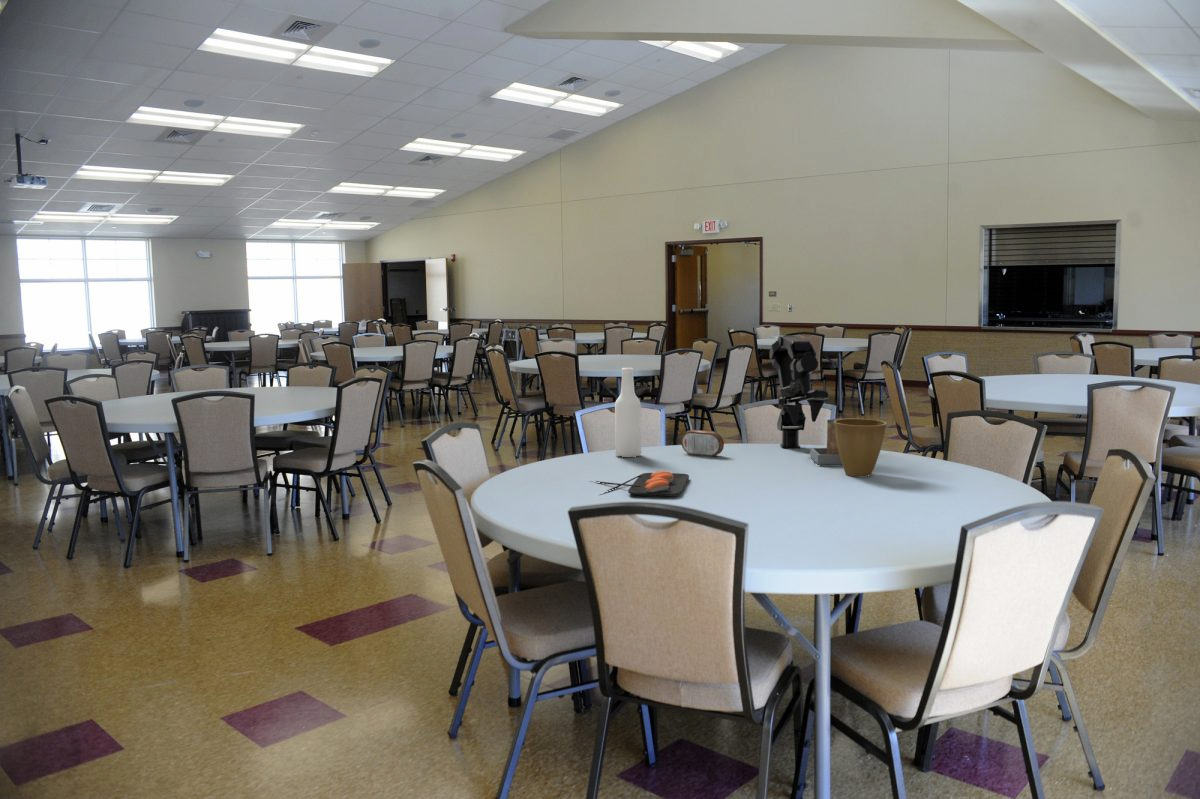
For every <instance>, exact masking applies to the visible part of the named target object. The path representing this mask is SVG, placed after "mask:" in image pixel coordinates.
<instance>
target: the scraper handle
mask: <svg viewBox="0 0 1200 799" xmlns="http://www.w3.org/2000/svg"><path fill="white" fill-rule="evenodd" d="M835 420H838V418H837V419H834V418H833V419H827V421H826V424H827V426H826V427H827V428H826V434H827V435H826V448H827V455H840V454H839V450H838V445H837V440H836V433H835V425H834V421H835Z"/></svg>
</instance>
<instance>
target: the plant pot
mask: <svg viewBox="0 0 1200 799" xmlns="http://www.w3.org/2000/svg"><path fill="white" fill-rule="evenodd" d="M837 419H838V418H837ZM834 425H835V433H836V440H837V445H838V450H839V454H840V458H841V461H842V465H843V466H842V468H843V471H844V474H845V475H847V476H849V475H852V476H851V477H855V476H867V477H869V476H868V475H870V476H871V475H872V474H873V472H874V469H875V467H876V464H877V461H878V459H879V456H880V453H881V450H882V446H883V442H884V437H885V432H886V428H887V427H886V426H887V422H886V421H883V420H877V419H868V418H867V419H866V418H839V419H838V420H835V421H834Z"/></svg>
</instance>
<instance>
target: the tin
mask: <svg viewBox="0 0 1200 799" xmlns="http://www.w3.org/2000/svg"><path fill="white" fill-rule="evenodd" d="M680 442H681V443H680V444H681V447H682V449H683V451H684V452H685V453H687V454H689V455H691V454H692V455H693V456H694V455H695V456H702V455H703V456H705V457H715V456H718V455H720V454H721V453H722V452H723V450H724V447H725V442H724V439H723V437H722V436H721V435H720V434H719V433H718V432H716V431H711V430H700V429H699V430H698V429H690V430H688V431H687V432H685V433H684V434H683V435H682V437H681V441H680ZM703 456H702V457H703Z"/></svg>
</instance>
